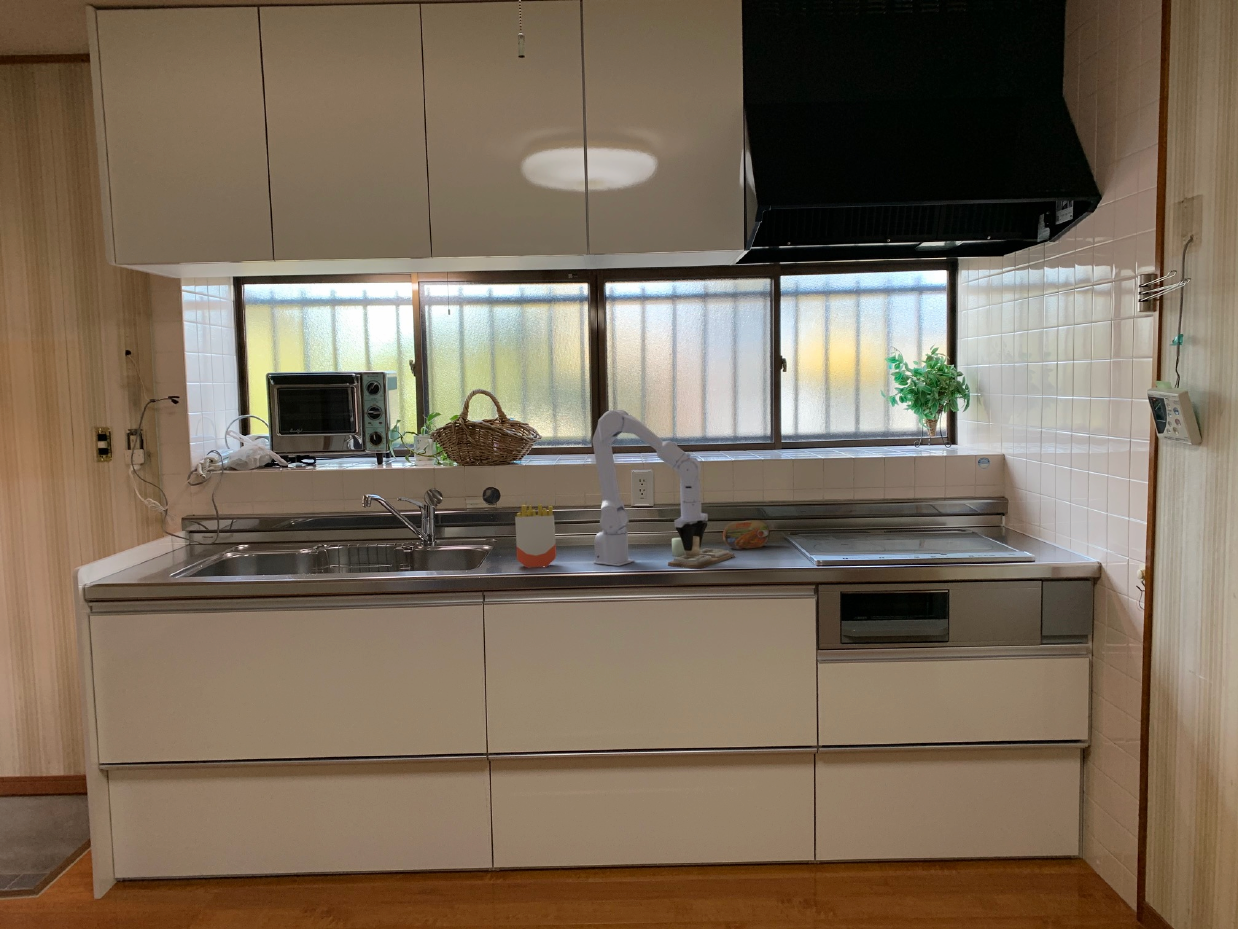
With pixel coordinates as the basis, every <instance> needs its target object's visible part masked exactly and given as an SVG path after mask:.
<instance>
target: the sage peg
mask: <svg viewBox="0 0 1238 929" xmlns="http://www.w3.org/2000/svg"><path fill="white" fill-rule="evenodd" d="M671 552H672V553H671V556H672V557H675V558H677V557H680V556H683V555H686V554H685V550H684V547H683V543H682V540H681V537H673V538H671Z"/></svg>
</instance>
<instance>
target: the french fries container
mask: <svg viewBox="0 0 1238 929" xmlns="http://www.w3.org/2000/svg"><path fill="white" fill-rule="evenodd" d="M527 506H528V505H527V504H526V505H525V504H523V505H521V512H518V513H516V516H515V517H514V518H515V519H514V520H515V540H516V541H515V542H516V560H517V562H519V563H521V565H523V566H524V567H525V568H526V567H543V566H545V568H547V567H548V566H549V565H550V564H551V563H553V562H554V560H555V559H556V558H557V547H556V546H557V545H556V544H557V543H556V540H557V539H556V526H555V514H554V513H553V510H554V508H553V505H551V506H549V505H548V510H547V508H546V507H545V508H544V507H543V504H538V505H537V514H536V509H533V508H532V505H531V504H530V505H529V506H528V507H527ZM527 509H528V510H527Z"/></svg>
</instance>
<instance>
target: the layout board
mask: <svg viewBox="0 0 1238 929" xmlns="http://www.w3.org/2000/svg"><path fill="white" fill-rule="evenodd" d="M731 557H732V558H735V553H734V552H729V550H728V549H719V548H718V549H717V548H703V549H700V555H699V556H686V555H683V556H680V557H675V558H673V560H672V561H668V563H667V566H668V567H673V568H674V567H675V568H683V567H684V569H685V568H686V569H694V570H695V569H696V570H701V569H703V568H707V567H708V565H709V566H712V565H714V564H717V562H718V563H720V562H723V561H726V560H729V559H732V558H731Z"/></svg>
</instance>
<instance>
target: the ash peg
mask: <svg viewBox="0 0 1238 929" xmlns="http://www.w3.org/2000/svg"><path fill="white" fill-rule="evenodd" d="M700 550H701V547H700V546H699V537H697V536H693V547H692V551H685V554H686V556H699V555H700Z"/></svg>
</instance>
